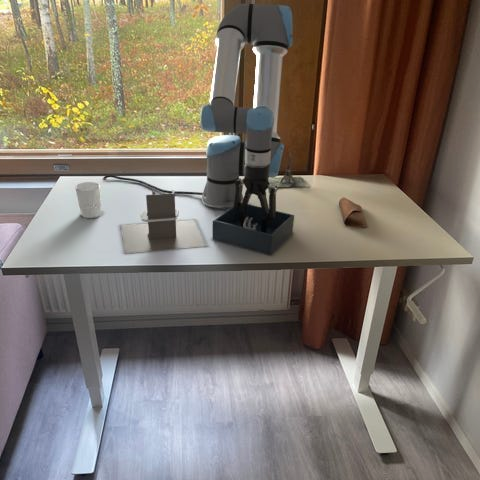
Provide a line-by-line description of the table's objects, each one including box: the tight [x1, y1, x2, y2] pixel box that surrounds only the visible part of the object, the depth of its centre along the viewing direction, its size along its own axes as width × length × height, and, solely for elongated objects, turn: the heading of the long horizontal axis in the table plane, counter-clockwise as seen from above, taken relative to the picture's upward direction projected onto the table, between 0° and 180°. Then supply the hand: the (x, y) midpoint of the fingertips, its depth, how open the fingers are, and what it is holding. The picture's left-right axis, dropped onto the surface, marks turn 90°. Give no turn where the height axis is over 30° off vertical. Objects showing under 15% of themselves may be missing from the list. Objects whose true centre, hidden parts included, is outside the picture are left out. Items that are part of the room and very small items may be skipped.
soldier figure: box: [243, 217, 258, 230], centre depth 163 cm, size 8×5×12 cm
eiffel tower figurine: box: [268, 150, 310, 188], centre depth 202 cm, size 15×10×13 cm
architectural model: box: [120, 189, 207, 254], centre depth 159 cm, size 20×25×15 cm
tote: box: [212, 203, 295, 256], centre depth 163 cm, size 21×18×7 cm
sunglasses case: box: [338, 197, 368, 228], centre depth 180 cm, size 18×7×7 cm, turn 178°
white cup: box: [74, 181, 102, 219], centre depth 171 cm, size 8×8×10 cm
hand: (253, 234), depth 164 cm, fingers closed on soldier figure, 6 cm apart
